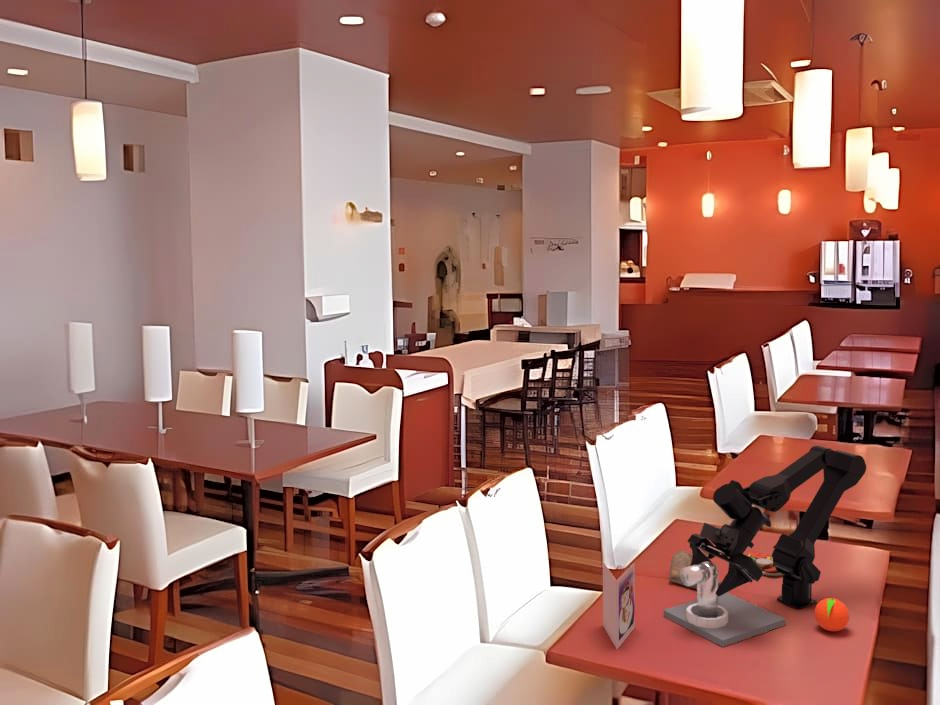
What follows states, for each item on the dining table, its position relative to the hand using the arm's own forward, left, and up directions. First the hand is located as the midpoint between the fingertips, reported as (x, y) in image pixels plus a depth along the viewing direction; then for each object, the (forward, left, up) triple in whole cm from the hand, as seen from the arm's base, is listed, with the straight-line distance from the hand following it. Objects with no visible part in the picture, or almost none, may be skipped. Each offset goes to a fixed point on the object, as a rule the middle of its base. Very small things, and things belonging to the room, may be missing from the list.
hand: (702, 587), depth 189 cm
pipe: (-17, -19, -10) cm, 27 cm away
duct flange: (-6, 0, -9) cm, 11 cm away
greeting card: (+19, -7, -9) cm, 22 cm away
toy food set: (-39, -16, -10) cm, 43 cm away
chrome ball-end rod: (0, 0, -8) cm, 8 cm away
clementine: (-22, +16, -9) cm, 29 cm away
